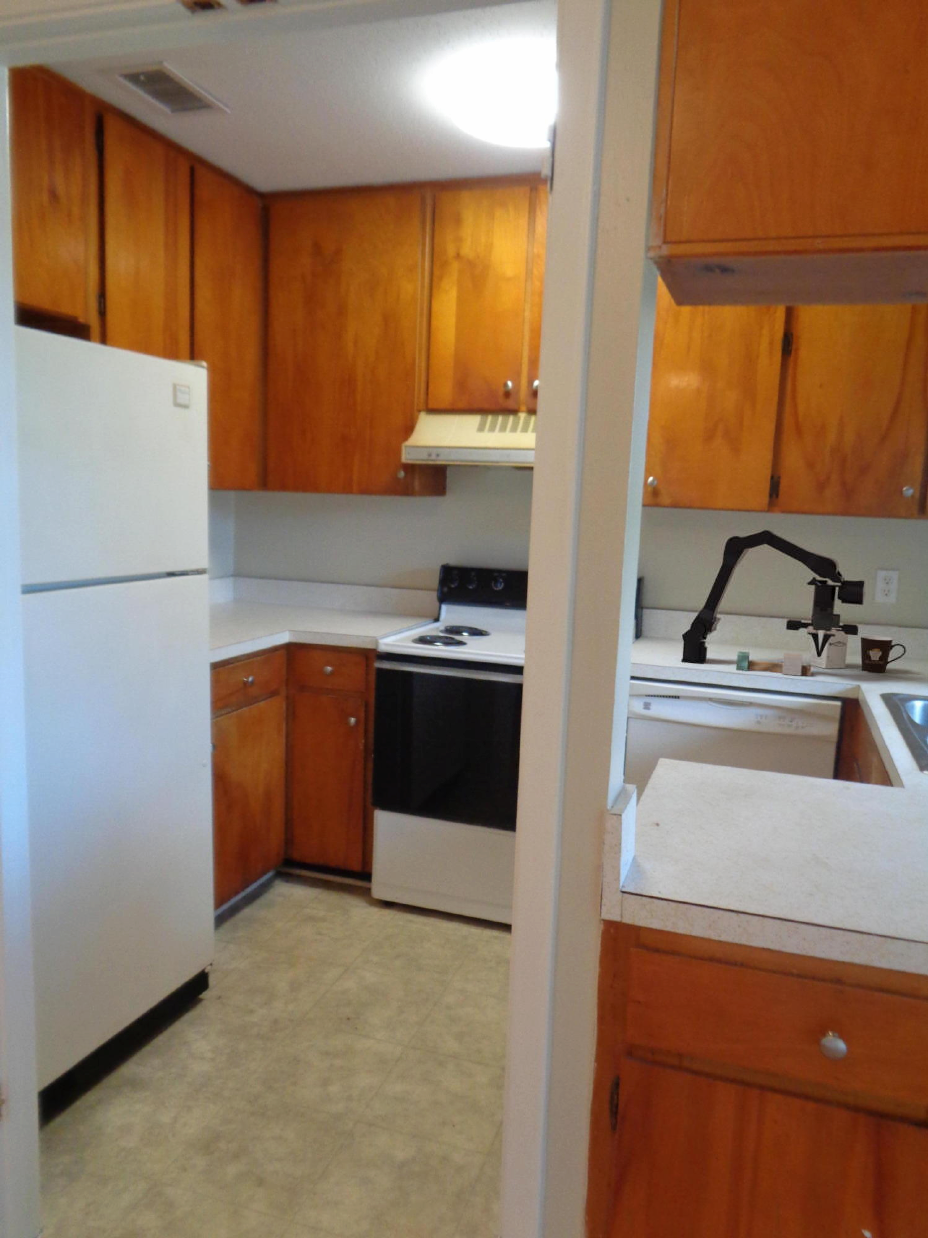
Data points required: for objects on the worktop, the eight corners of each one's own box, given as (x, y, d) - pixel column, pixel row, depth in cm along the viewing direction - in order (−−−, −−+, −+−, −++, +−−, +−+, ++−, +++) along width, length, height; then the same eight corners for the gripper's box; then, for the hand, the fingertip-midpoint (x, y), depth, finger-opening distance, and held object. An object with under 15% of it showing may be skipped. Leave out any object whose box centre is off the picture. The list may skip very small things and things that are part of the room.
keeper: (782, 673, 254) (783, 656, 253) (782, 669, 260) (783, 652, 260) (800, 675, 252) (802, 658, 252) (800, 671, 259) (802, 654, 258)
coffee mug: (852, 670, 266) (855, 636, 264) (866, 667, 271) (869, 634, 270) (891, 676, 257) (894, 642, 256) (905, 673, 262) (908, 640, 261)
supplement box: (824, 668, 266) (828, 626, 264) (809, 664, 273) (812, 623, 272) (845, 668, 268) (849, 626, 266) (829, 664, 275) (833, 623, 274)
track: (736, 670, 258) (737, 654, 258) (737, 666, 265) (738, 651, 264) (810, 677, 251) (811, 661, 251) (810, 673, 258) (811, 657, 257)
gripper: (788, 602, 247) (783, 658, 249) (861, 607, 241) (856, 664, 243) (788, 598, 257) (784, 652, 259) (859, 603, 251) (854, 658, 253)
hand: (818, 656), depth 253 cm, fingers closed
